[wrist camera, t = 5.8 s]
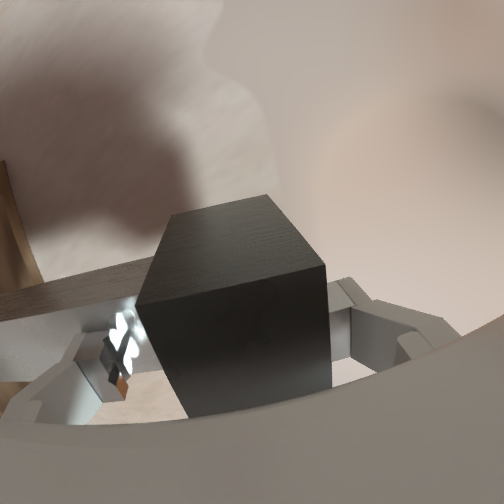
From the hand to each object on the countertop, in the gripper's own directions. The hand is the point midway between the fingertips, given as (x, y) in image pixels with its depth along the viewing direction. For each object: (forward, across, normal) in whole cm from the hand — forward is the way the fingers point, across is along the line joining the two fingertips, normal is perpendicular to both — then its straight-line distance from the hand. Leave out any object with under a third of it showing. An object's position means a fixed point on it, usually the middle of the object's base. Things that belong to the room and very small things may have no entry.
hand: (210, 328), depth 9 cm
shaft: (+4, +7, 0) cm, 8 cm away
